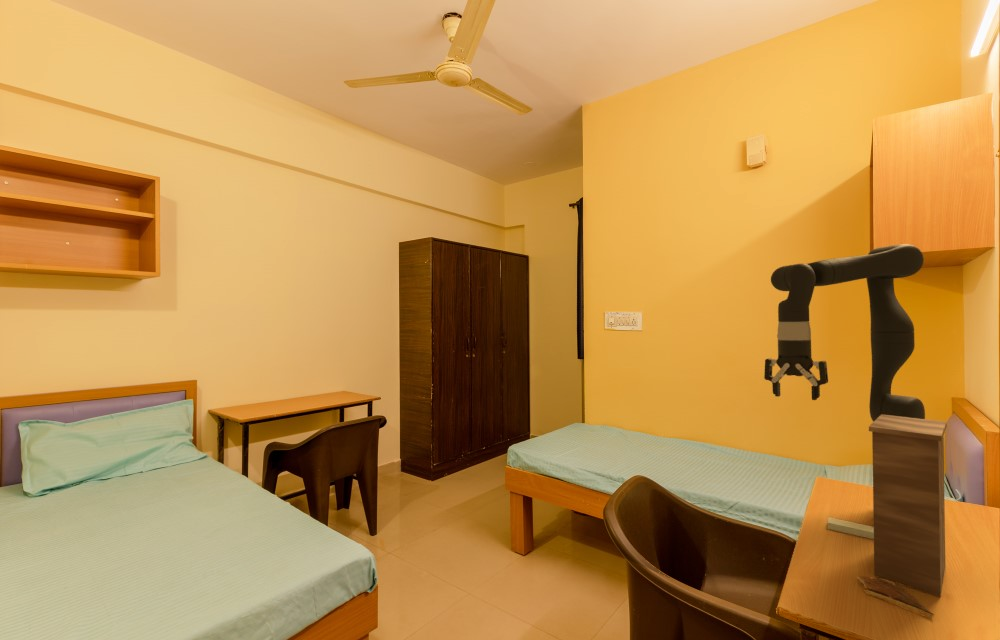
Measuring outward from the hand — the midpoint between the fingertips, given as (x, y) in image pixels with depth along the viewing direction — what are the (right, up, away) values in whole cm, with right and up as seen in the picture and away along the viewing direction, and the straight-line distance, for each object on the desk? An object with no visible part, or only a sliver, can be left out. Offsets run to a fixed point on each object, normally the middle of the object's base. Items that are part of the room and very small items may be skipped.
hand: (795, 397), depth 119 cm
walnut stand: (+9, -34, -23) cm, 42 cm away
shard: (-2, -34, -32) cm, 47 cm away
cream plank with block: (+15, -34, -9) cm, 38 cm away
